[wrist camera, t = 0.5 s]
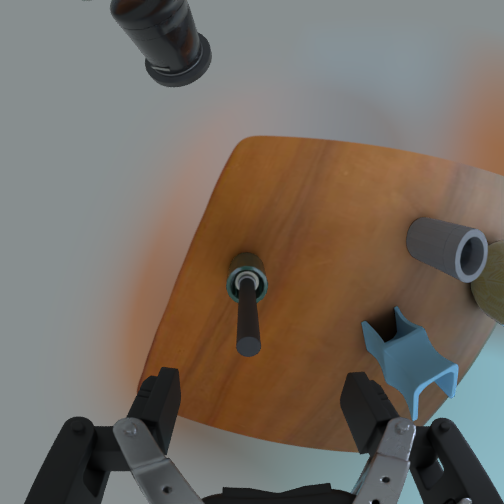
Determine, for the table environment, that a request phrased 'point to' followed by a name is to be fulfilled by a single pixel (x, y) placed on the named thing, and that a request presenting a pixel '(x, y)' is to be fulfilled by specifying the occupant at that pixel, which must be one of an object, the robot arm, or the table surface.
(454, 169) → the table surface
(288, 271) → the table surface
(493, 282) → the vase
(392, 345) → the blue bent piece
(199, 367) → the table surface
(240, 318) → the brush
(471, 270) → the cup
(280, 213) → the table surface
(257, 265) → the holder
